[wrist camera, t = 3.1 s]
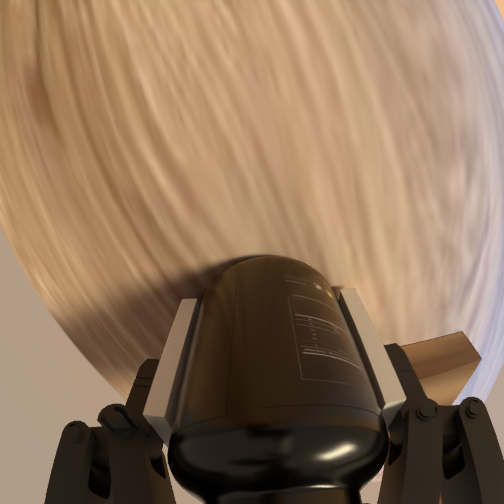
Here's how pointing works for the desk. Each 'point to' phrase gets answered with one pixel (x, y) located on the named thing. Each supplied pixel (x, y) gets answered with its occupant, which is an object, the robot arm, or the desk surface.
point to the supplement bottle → (275, 394)
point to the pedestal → (443, 365)
